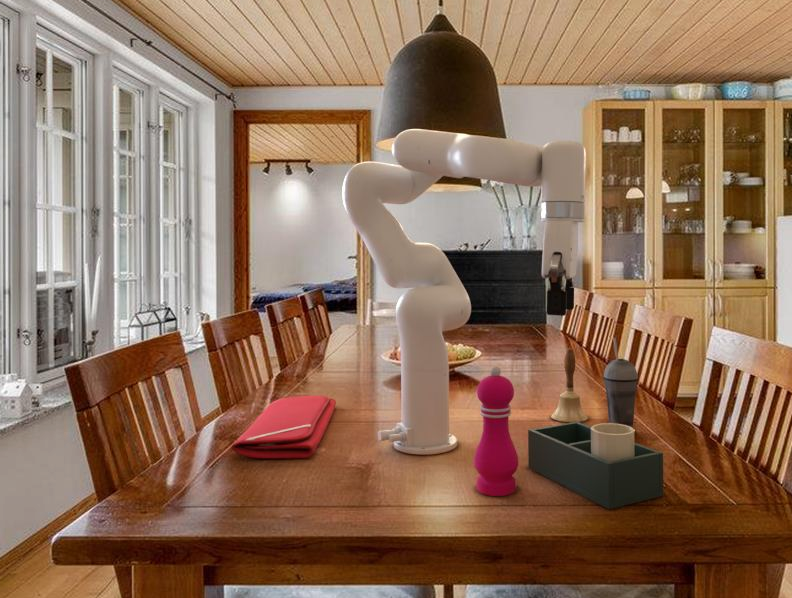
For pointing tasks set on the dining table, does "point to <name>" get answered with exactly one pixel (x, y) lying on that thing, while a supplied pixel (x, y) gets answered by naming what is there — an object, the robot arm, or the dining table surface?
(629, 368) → the beverage cup
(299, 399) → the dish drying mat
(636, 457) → the storage box
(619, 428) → the cup
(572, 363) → the hand bell
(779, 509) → the dining table surface
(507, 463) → the pepper mill
